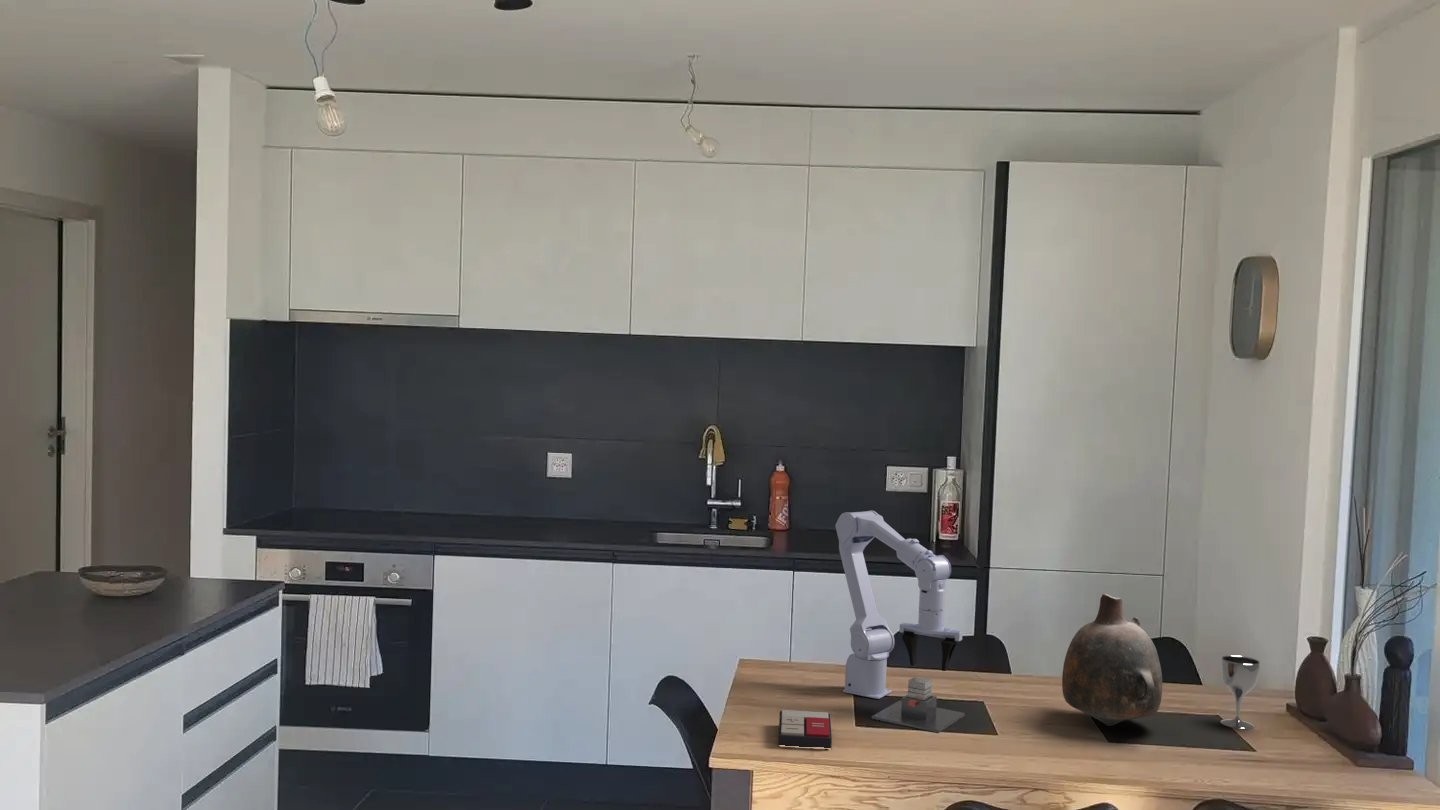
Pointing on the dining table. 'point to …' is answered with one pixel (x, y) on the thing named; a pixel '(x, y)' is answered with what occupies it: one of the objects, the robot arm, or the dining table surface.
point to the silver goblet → (1239, 683)
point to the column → (919, 688)
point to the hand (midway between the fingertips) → (929, 667)
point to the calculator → (805, 729)
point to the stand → (919, 714)
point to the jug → (1112, 668)
